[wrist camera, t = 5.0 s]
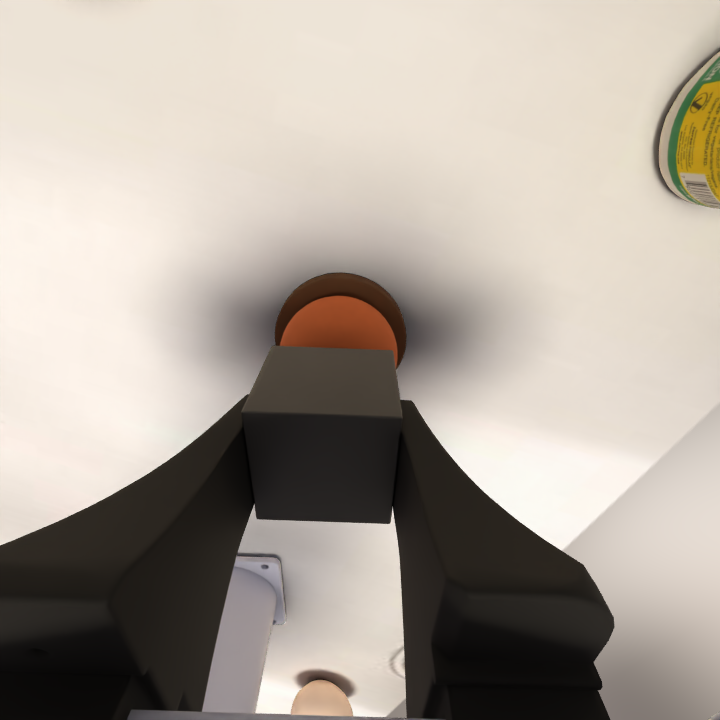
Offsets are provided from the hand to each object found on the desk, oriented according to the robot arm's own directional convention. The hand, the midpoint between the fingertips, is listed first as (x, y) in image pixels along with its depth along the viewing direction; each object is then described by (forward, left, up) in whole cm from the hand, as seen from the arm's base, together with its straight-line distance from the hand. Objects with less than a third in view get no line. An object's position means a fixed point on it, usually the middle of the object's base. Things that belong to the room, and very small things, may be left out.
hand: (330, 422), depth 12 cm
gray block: (0, 0, -1) cm, 1 cm away
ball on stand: (0, 0, -7) cm, 7 cm away
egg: (-3, -34, -4) cm, 34 cm away
